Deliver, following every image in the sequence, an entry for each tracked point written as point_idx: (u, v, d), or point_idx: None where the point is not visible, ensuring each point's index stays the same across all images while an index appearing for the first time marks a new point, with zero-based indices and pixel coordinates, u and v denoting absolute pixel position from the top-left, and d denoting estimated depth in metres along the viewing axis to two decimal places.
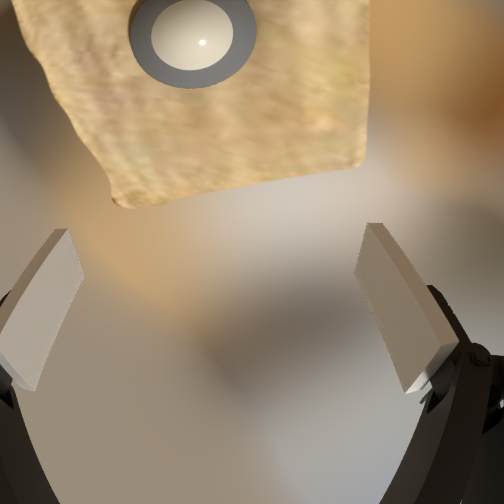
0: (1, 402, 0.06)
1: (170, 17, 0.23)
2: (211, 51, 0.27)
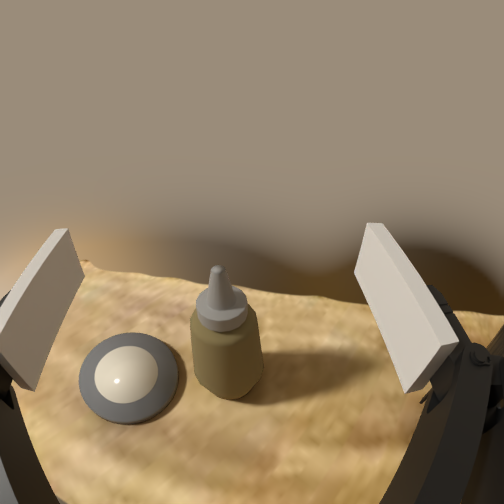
0: (1, 402, 0.06)
1: (149, 370, 0.35)
2: (103, 376, 0.33)
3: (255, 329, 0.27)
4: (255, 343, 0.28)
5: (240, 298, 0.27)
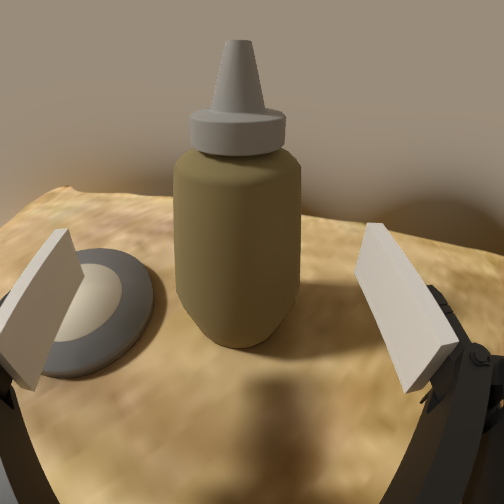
0: (1, 402, 0.06)
1: (109, 295, 0.22)
2: None
3: (298, 174, 0.14)
4: (296, 207, 0.15)
5: (272, 111, 0.13)
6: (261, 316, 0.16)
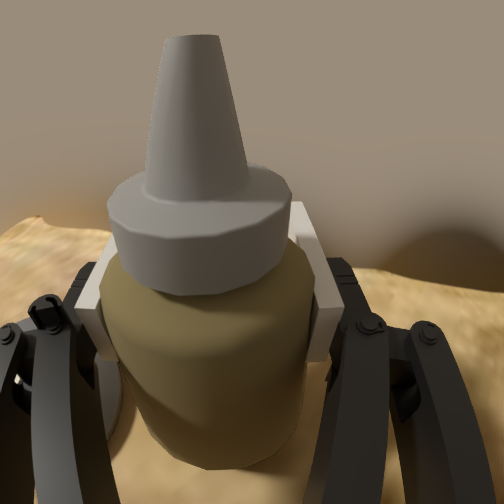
0: (84, 382, 0.07)
1: None
2: None
3: (310, 300, 0.08)
4: (304, 348, 0.09)
5: (266, 179, 0.07)
6: (250, 460, 0.10)
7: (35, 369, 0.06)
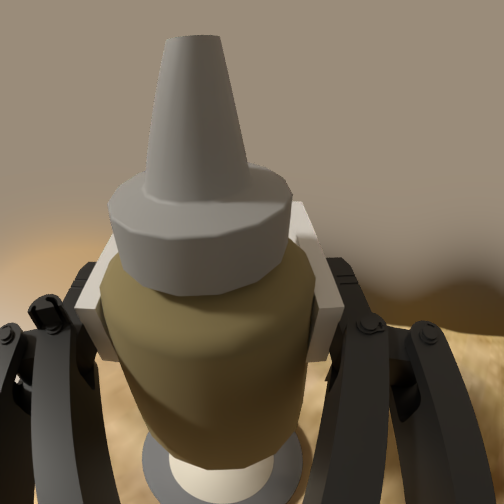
0: (84, 382, 0.07)
1: None
2: (185, 464, 0.20)
3: (311, 300, 0.08)
4: (304, 348, 0.09)
5: (266, 180, 0.07)
6: (251, 460, 0.10)
7: (35, 369, 0.06)
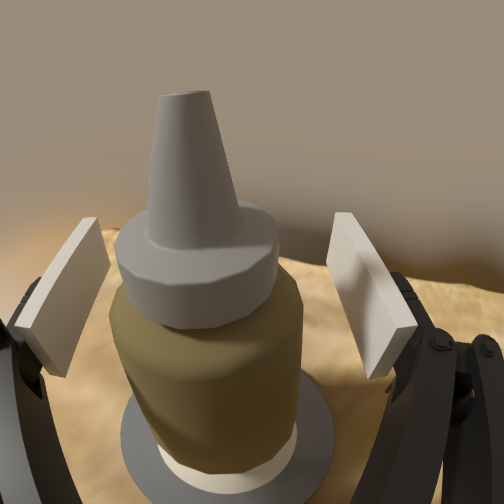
0: (30, 392, 0.06)
1: None
2: None
3: (298, 327, 0.09)
4: (293, 368, 0.09)
5: (257, 222, 0.08)
6: (248, 466, 0.11)
7: None
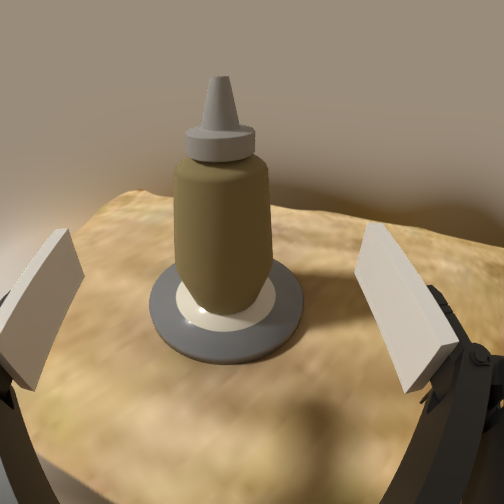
0: (1, 402, 0.06)
1: None
2: (191, 299, 0.26)
3: (264, 174, 0.19)
4: (264, 198, 0.20)
5: (246, 128, 0.19)
6: (240, 283, 0.21)
7: None
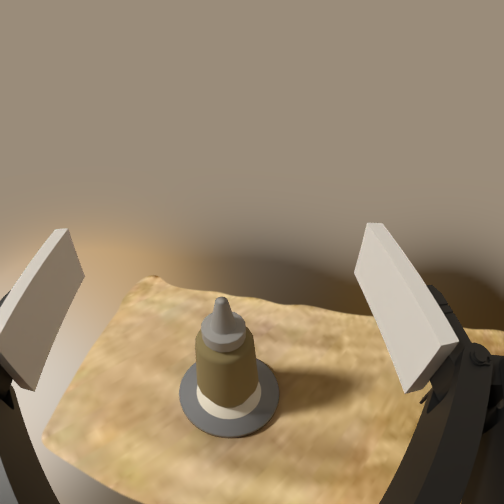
0: (1, 402, 0.06)
1: None
2: None
3: (252, 350, 0.31)
4: (251, 362, 0.31)
5: (240, 324, 0.30)
6: (238, 400, 0.33)
7: None
